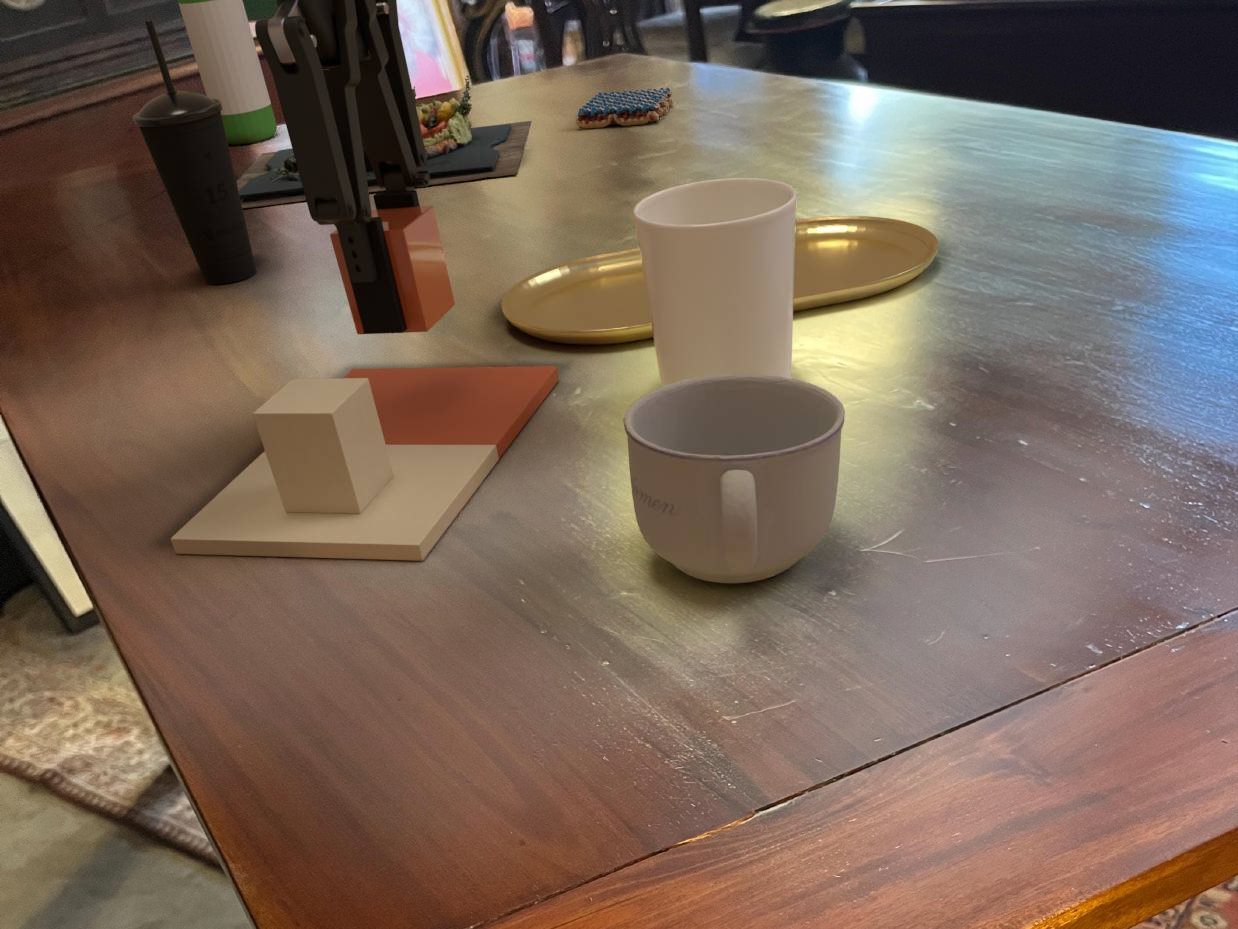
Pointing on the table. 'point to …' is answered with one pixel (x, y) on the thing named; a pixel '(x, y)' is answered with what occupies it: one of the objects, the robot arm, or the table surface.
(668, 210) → the white tumbler
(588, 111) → the blueberry tart
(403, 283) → the terracotta block
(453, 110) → the plated dish
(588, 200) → the table surface
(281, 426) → the cream block
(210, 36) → the wine bottle
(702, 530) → the teacup
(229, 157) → the drinking cup
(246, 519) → the sorting board
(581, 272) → the serving platter
